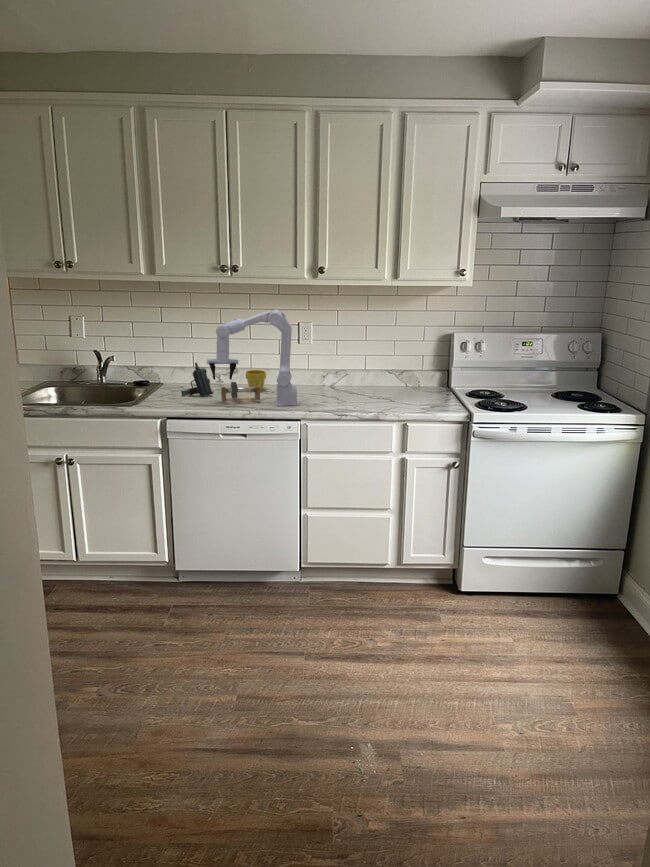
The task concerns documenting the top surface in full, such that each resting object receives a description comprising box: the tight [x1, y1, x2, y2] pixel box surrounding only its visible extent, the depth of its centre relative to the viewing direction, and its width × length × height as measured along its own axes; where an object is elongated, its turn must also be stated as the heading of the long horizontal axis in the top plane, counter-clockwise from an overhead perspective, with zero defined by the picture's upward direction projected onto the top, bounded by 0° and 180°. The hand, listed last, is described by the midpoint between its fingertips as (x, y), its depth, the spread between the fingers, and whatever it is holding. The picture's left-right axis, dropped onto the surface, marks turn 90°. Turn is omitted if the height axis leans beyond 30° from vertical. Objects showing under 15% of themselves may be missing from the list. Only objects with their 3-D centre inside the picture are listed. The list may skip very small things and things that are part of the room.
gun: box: [180, 362, 214, 398], centre depth 313 cm, size 3×17×15 cm
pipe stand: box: [220, 386, 261, 405], centre depth 305 cm, size 18×6×7 cm, turn 102°
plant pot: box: [245, 369, 267, 392], centre depth 328 cm, size 10×10×10 cm
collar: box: [230, 381, 238, 398], centre depth 303 cm, size 2×6×6 cm, turn 12°
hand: (222, 379), depth 300 cm, fingers open, 7 cm apart
